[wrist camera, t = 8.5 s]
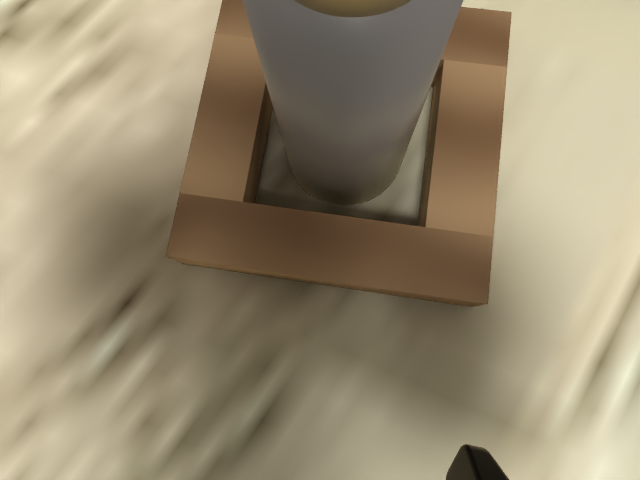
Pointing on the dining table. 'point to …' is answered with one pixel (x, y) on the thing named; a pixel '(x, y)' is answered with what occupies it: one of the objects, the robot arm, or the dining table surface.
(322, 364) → the dining table surface
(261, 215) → the brown square frame
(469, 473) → the robot arm
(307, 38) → the grey and tan cylinder
